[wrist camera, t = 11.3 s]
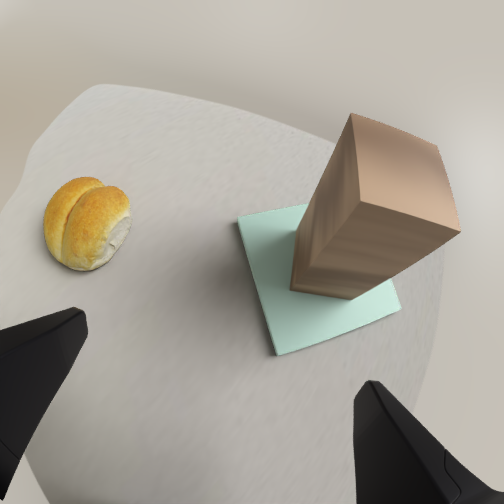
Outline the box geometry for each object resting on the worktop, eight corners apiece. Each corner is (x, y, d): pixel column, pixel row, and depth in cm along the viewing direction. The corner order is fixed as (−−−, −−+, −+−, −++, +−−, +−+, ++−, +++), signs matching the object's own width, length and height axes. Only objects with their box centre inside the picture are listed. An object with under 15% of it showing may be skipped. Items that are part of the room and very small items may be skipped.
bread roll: (84, 179, 23) (69, 155, 20) (148, 209, 22) (135, 182, 19) (39, 245, 20) (16, 227, 16) (97, 289, 19) (74, 274, 16)
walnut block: (351, 300, 20) (461, 231, 9) (289, 290, 20) (360, 200, 9) (353, 241, 22) (436, 146, 10) (296, 230, 22) (350, 112, 10)
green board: (396, 310, 20) (401, 308, 20) (276, 355, 18) (278, 355, 18) (351, 200, 24) (354, 195, 23) (237, 222, 22) (237, 217, 22)
